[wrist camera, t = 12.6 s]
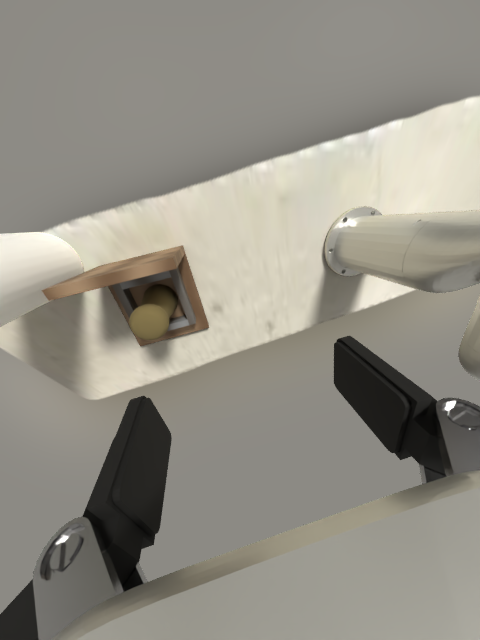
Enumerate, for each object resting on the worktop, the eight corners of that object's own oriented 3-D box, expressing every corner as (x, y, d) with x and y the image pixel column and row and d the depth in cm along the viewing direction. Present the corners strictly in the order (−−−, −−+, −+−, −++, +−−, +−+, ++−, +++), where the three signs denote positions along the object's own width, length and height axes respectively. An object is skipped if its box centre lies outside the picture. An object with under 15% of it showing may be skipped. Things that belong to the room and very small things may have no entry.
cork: (180, 313, 38) (173, 344, 29) (147, 316, 37) (128, 349, 28) (175, 283, 36) (166, 305, 26) (139, 285, 35) (116, 309, 25)
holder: (182, 245, 34) (173, 257, 22) (208, 325, 42) (212, 368, 29) (100, 265, 33) (41, 290, 21) (141, 343, 41) (116, 396, 28)
